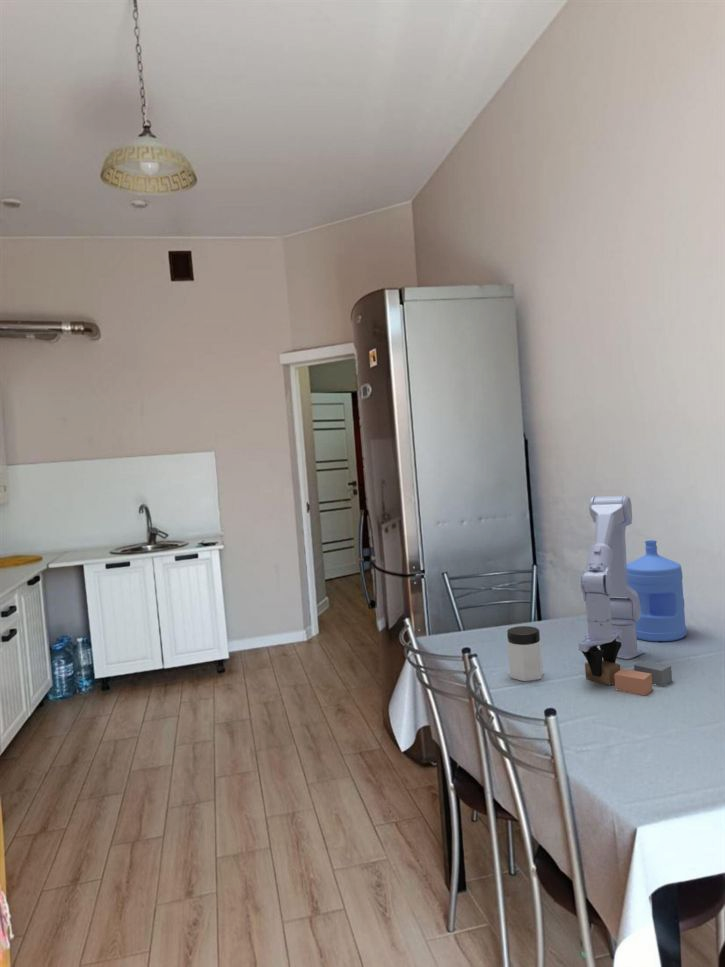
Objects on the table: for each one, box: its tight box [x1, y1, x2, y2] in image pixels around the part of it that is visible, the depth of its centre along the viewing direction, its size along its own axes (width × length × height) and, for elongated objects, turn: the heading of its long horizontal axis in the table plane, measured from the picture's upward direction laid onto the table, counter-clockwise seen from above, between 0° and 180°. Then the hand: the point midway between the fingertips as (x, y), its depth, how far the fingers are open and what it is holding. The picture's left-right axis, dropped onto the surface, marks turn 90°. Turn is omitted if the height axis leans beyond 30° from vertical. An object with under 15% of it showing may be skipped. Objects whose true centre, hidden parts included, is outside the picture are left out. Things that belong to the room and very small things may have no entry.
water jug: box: [627, 539, 687, 642], centre depth 195 cm, size 16×16×28 cm
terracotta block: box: [614, 668, 653, 697], centre depth 156 cm, size 7×4×4 cm, turn 46°
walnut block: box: [584, 659, 622, 685], centre depth 164 cm, size 7×4×4 cm, turn 34°
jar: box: [506, 625, 544, 682], centre depth 171 cm, size 9×8×12 cm
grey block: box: [633, 660, 673, 687], centre depth 160 cm, size 7×4×4 cm, turn 38°
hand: (603, 673), depth 164 cm, fingers closed on walnut block, 4 cm apart
